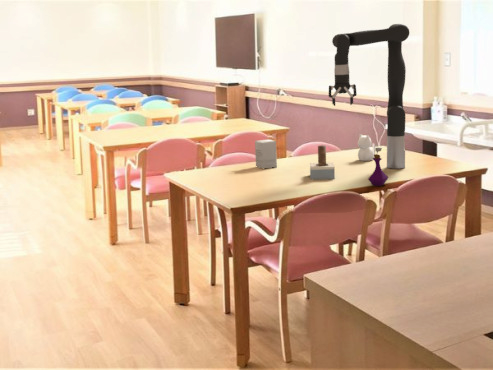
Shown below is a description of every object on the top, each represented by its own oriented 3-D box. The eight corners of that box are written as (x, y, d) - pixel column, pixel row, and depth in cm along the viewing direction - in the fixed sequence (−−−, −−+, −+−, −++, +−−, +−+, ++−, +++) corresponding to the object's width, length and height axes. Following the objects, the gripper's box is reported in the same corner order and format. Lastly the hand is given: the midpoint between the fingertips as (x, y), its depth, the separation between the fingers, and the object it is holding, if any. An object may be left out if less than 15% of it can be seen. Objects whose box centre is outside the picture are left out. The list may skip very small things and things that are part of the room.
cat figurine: (353, 160, 409) (353, 134, 406) (368, 157, 417) (368, 132, 413) (365, 162, 402) (364, 136, 399) (380, 159, 410) (380, 133, 406)
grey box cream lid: (333, 174, 372) (333, 162, 371) (334, 178, 360) (334, 166, 359) (310, 174, 373) (310, 163, 372) (310, 179, 361) (310, 167, 360)
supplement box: (269, 165, 404) (269, 138, 401) (277, 167, 396) (276, 140, 393) (255, 167, 400) (254, 140, 397) (262, 169, 392) (261, 142, 389)
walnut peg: (326, 176, 368) (325, 145, 365) (326, 177, 365) (326, 146, 361) (318, 176, 369) (317, 145, 365) (318, 177, 365) (318, 146, 362)
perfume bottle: (382, 187, 338) (382, 149, 334) (367, 185, 342) (367, 148, 338) (388, 184, 344) (388, 147, 341) (373, 182, 348) (373, 146, 345)
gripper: (355, 72, 371) (355, 103, 375) (327, 73, 372) (328, 105, 375) (356, 73, 364) (357, 105, 367) (328, 74, 365) (329, 106, 368)
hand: (342, 105), depth 371 cm, fingers open, 8 cm apart
